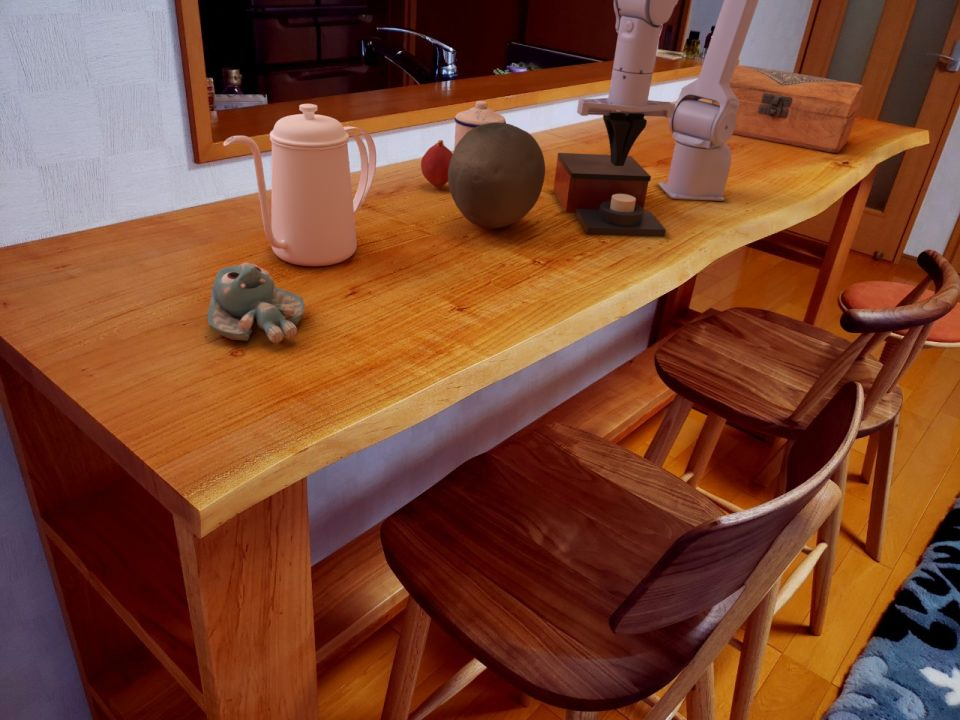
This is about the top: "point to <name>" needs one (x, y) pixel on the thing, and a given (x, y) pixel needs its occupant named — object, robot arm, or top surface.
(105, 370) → the top surface
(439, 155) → the onion
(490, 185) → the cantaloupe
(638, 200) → the reddish-brown open box
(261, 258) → the top surface
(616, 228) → the switch block
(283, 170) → the coffeepot
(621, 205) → the button
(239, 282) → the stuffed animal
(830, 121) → the wooden box
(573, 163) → the box lid
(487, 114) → the teacup with lid
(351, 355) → the top surface
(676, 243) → the top surface
